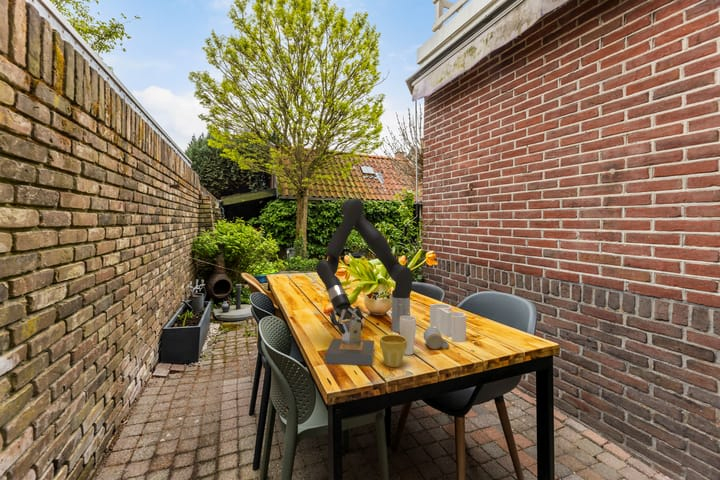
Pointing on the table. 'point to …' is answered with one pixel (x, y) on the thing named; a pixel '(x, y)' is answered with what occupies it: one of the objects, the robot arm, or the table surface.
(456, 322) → the bracket
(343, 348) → the steel plate
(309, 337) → the table surface
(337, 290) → the robot arm
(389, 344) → the plant pot
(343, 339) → the aluminium block
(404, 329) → the white tube
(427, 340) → the ceramic mug
